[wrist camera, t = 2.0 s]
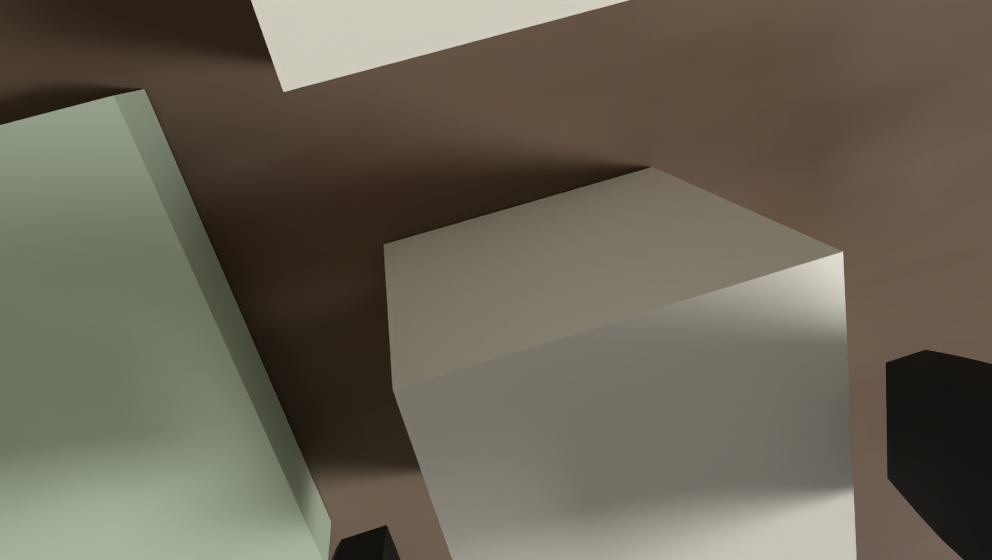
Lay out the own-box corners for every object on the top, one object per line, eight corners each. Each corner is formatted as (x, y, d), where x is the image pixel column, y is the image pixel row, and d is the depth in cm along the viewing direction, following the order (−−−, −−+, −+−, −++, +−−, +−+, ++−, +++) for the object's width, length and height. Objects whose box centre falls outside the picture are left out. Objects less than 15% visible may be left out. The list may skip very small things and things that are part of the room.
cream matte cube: (687, 397, 16) (858, 588, 10) (457, 471, 15) (505, 712, 10) (651, 167, 14) (843, 251, 8) (383, 244, 13) (392, 389, 8)
